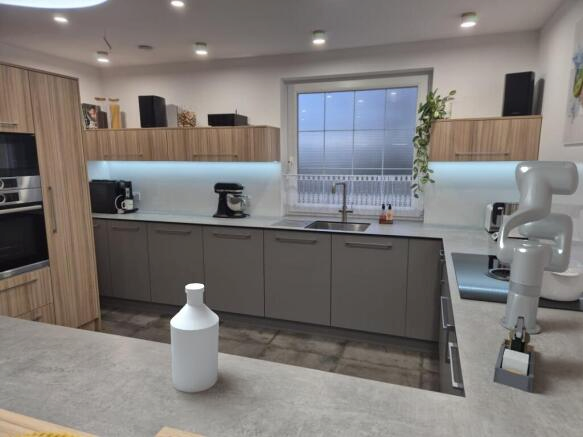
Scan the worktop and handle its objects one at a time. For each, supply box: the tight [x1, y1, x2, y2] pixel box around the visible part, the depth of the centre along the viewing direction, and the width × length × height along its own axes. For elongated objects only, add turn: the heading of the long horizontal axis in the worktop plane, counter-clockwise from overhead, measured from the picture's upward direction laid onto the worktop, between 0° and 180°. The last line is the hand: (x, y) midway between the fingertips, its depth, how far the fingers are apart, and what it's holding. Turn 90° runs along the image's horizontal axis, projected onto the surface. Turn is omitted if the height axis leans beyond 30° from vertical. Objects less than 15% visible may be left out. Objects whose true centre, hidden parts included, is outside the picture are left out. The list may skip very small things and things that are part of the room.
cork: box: [508, 329, 531, 354], centre depth 106 cm, size 6×6×11 cm
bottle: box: [170, 283, 220, 393], centre depth 94 cm, size 12×12×25 cm
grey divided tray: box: [493, 343, 536, 394], centre depth 103 cm, size 17×9×4 cm, turn 145°
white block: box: [502, 349, 529, 376], centre depth 99 cm, size 6×6×7 cm
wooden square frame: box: [502, 338, 536, 352], centre depth 114 cm, size 8×8×2 cm
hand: (517, 347), depth 106 cm, fingers open, 7 cm apart
